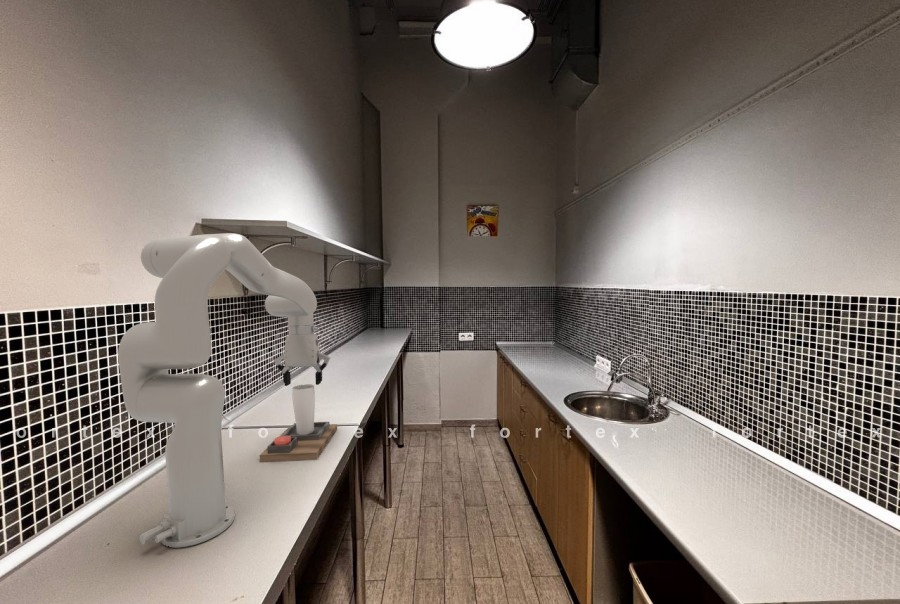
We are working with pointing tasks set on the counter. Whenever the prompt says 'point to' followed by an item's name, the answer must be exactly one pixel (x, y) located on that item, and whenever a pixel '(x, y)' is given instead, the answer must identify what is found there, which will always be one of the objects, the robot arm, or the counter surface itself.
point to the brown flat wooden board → (300, 444)
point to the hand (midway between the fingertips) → (303, 384)
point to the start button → (282, 440)
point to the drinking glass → (304, 408)
